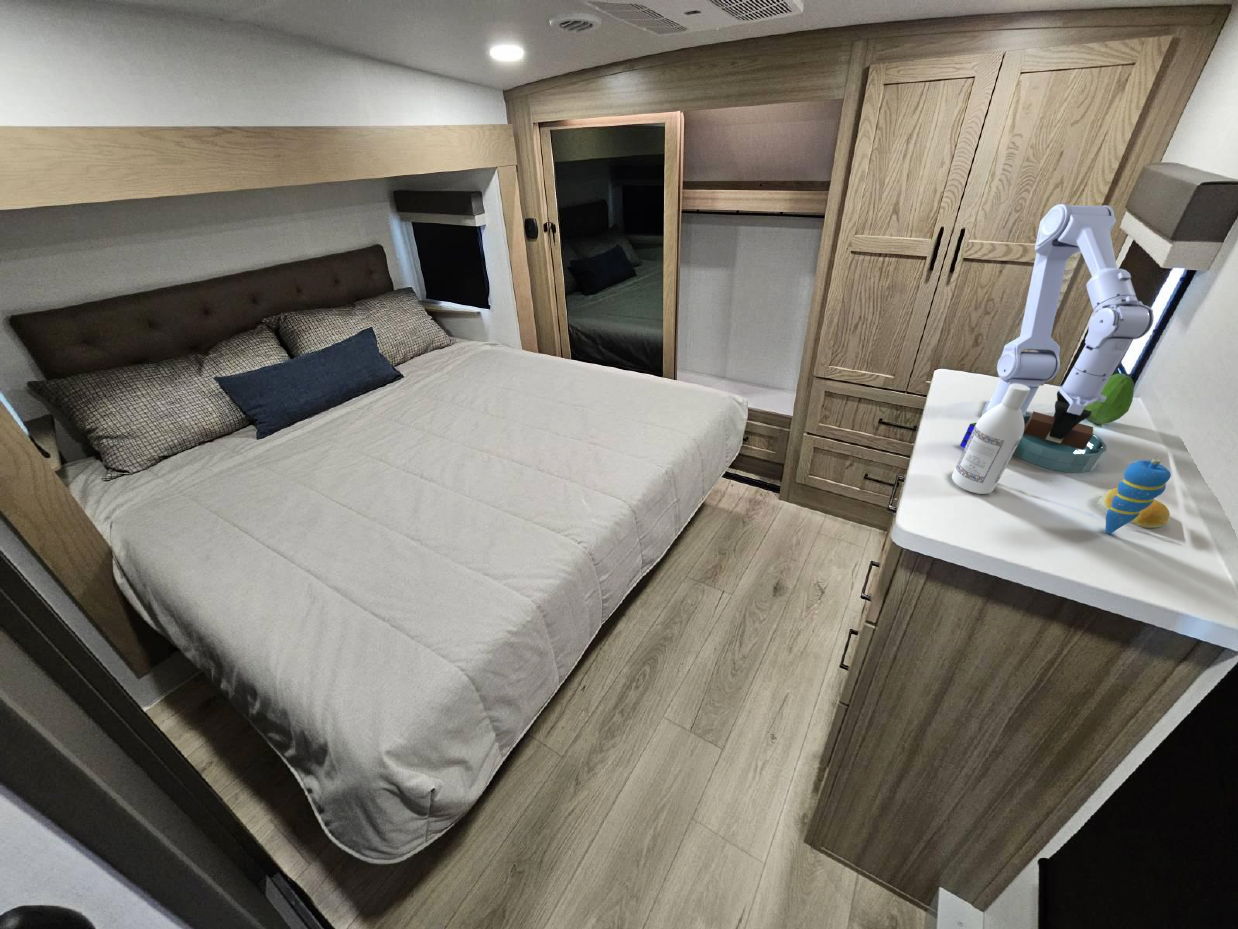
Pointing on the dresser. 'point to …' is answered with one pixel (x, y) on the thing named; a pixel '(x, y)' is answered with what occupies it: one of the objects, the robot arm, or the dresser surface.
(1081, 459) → the bowl
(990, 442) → the bath foam
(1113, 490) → the bread roll
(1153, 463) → the ornament
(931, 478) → the dresser surface
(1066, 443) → the snack bar
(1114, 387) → the avocado
